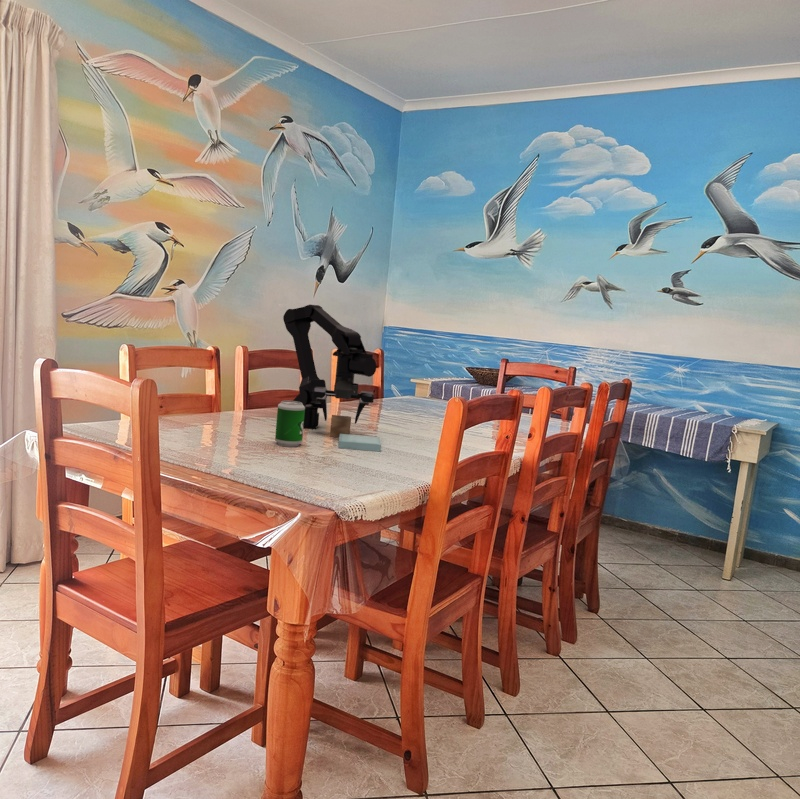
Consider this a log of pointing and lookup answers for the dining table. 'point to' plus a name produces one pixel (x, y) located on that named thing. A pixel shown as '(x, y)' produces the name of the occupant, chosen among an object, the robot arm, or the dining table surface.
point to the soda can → (290, 423)
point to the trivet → (359, 442)
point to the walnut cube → (340, 425)
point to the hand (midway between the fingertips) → (340, 422)
